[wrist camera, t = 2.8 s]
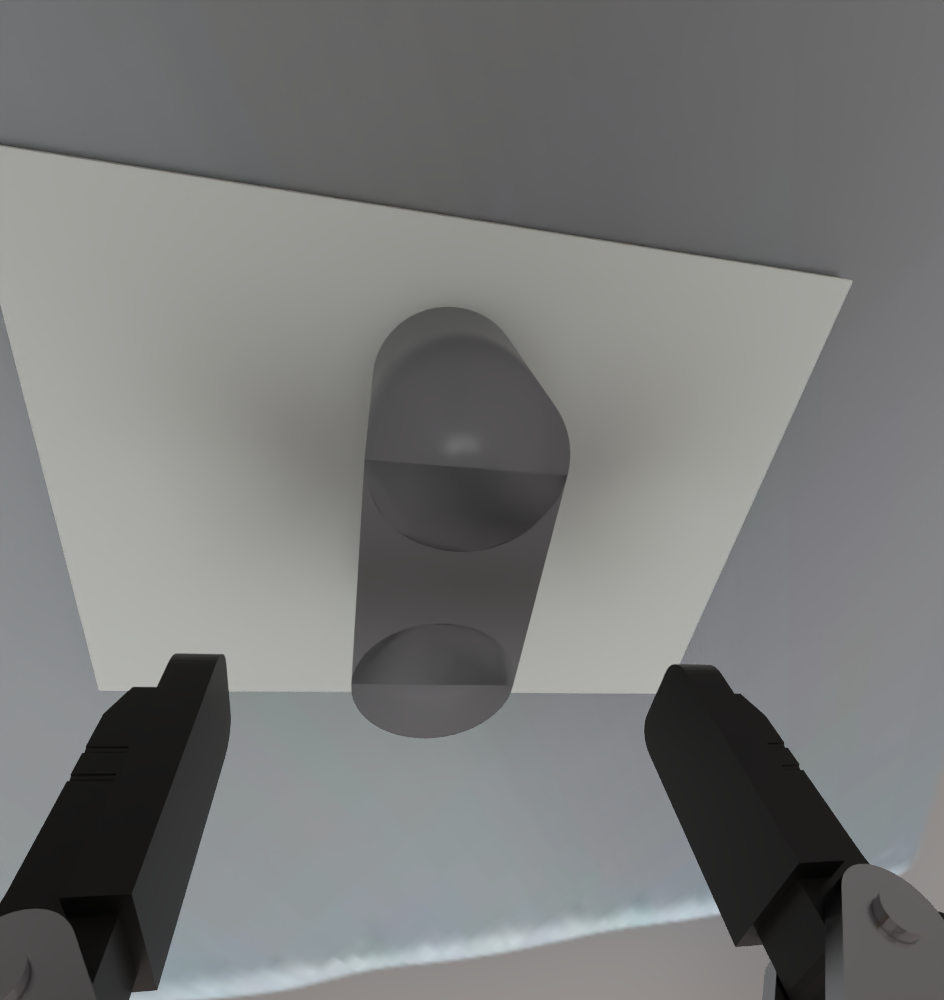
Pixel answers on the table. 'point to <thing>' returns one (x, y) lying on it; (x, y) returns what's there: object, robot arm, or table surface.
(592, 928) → the table surface
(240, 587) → the rubber mat
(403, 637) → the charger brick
